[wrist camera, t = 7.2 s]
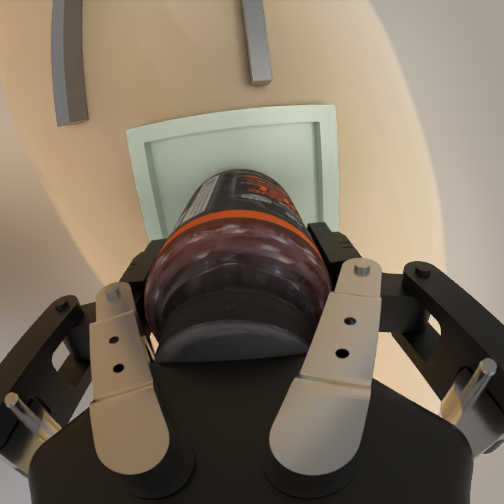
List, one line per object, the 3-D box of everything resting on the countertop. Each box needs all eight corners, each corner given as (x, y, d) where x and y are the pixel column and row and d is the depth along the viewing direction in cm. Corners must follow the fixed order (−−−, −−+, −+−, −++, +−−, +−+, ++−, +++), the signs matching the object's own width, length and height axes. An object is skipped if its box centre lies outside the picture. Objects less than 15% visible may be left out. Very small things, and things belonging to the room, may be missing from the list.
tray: (137, 128, 16) (125, 130, 14) (325, 105, 16) (335, 104, 14) (171, 287, 22) (166, 303, 20) (328, 271, 21) (336, 286, 20)
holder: (72, -23, 10) (57, -32, 8) (246, -68, 10) (247, -86, 7) (77, 123, 16) (57, 126, 13) (267, 84, 15) (272, 79, 13)
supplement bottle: (314, 205, 16) (412, 355, 6) (253, 281, 18) (265, 456, 8) (225, 143, 14) (185, 217, 4) (168, 231, 16) (90, 394, 6)
